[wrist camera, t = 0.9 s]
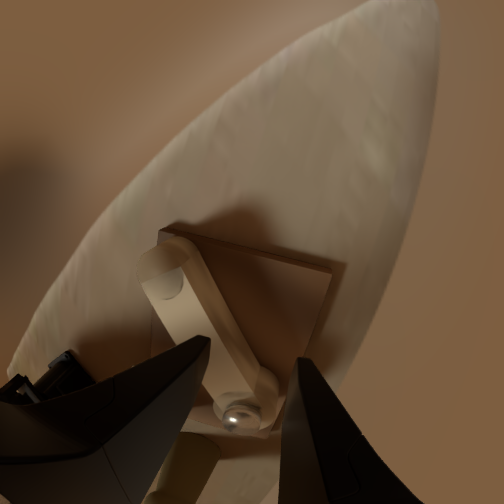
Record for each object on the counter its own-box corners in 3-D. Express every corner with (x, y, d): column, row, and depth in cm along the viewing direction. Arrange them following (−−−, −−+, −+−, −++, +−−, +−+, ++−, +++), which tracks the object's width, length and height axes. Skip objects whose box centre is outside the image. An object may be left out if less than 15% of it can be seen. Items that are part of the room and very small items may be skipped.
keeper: (274, 359, 21) (265, 415, 16) (256, 417, 23) (245, 468, 18) (161, 329, 22) (126, 373, 16) (161, 391, 24) (136, 433, 19)
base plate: (267, 431, 24) (266, 439, 23) (155, 398, 25) (151, 404, 24) (331, 268, 18) (332, 274, 17) (164, 227, 19) (158, 230, 18)
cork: (177, 455, 28) (147, 523, 18) (164, 427, 26) (125, 502, 16) (224, 463, 27) (201, 538, 17) (216, 436, 25) (186, 522, 15)
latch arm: (287, 397, 20) (285, 425, 18) (238, 407, 22) (230, 433, 19) (197, 224, 18) (178, 236, 15) (144, 250, 19) (120, 265, 16)
